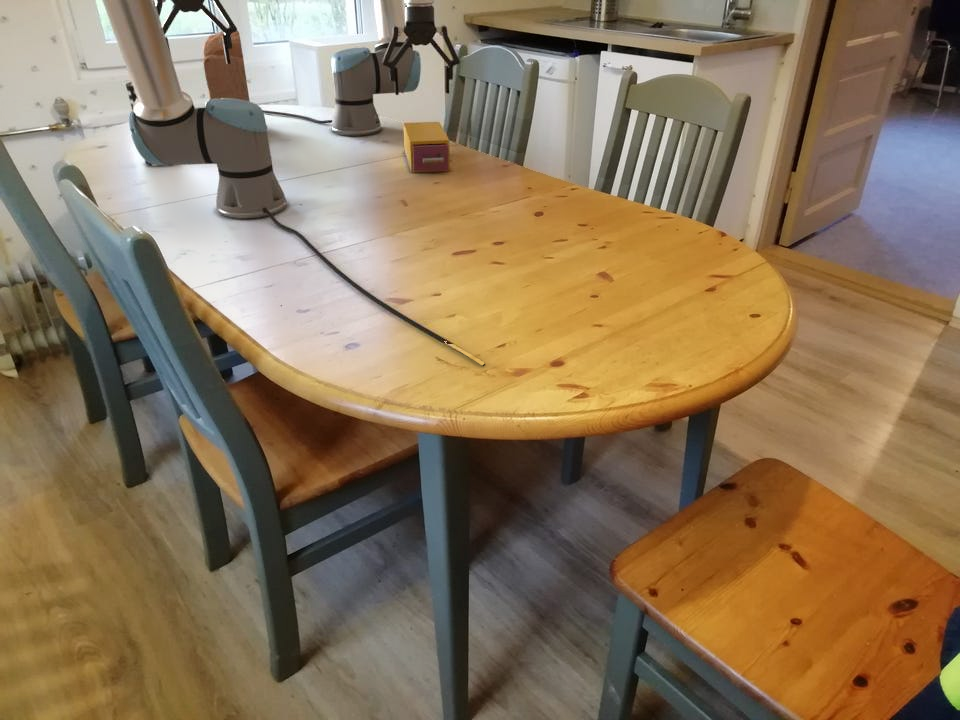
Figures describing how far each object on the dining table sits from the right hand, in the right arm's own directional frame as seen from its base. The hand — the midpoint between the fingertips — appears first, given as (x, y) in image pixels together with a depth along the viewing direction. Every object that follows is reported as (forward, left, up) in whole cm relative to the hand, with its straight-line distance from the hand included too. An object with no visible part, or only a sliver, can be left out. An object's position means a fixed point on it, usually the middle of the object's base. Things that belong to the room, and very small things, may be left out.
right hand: (422, 93), depth 185 cm
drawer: (+9, -5, -16) cm, 19 cm away
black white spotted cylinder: (-35, -62, -7) cm, 71 cm away
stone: (-54, -34, -17) cm, 66 cm away
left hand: (-26, -49, +8) cm, 56 cm away
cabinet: (+5, -2, -17) cm, 18 cm away
